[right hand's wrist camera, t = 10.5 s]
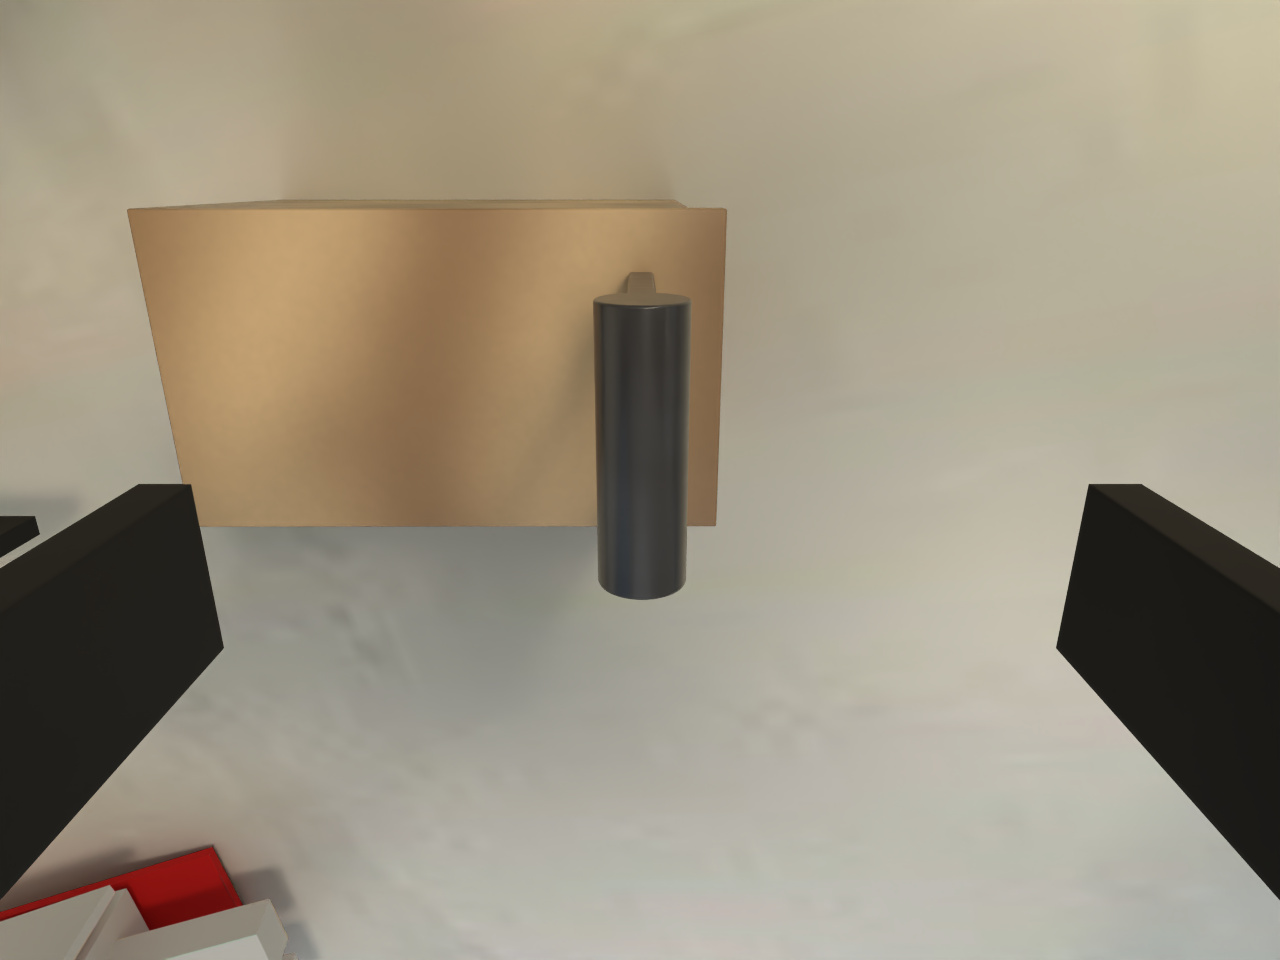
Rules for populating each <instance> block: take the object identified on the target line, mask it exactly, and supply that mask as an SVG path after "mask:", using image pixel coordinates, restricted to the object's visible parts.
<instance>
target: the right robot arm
mask: <svg viewBox="0 0 1280 960" xmlns="http://www.w3.org/2000/svg"><path fill="white" fill-rule="evenodd" d="M223 648H224V646H223V641H222V636H221V631H220V626H219V621H218V616H217V611H216V606H215V601H214V596H213V591H212V586H211V581H210V576H209V571H208V566H207V561H206V556H205V551H204V546H203V541H202V536H201V531H200V526H199V521H198V516H197V511H196V506H195V501H194V496H193V491H192V486H191V484H138V485H137V486H135V487H133V488H132V489H130V490H128V491H127V492H125V493H123V494H122V495H120V496H118V497H117V498H115V499H114V500H112V501H110V502H109V503H107V504H105V505H104V506H102V507H100V508H99V509H97V510H95V511H94V512H92V513H91V514H89V515H87V516H86V517H84V518H82V519H81V520H79V521H77V522H76V523H74V524H72V525H71V526H69V527H67V528H66V529H64V530H63V531H61V532H59V533H58V534H56V535H54V536H53V537H51V538H49V539H48V540H46V541H44V542H43V543H41V544H40V545H38V546H36V547H35V548H33V549H31V550H30V551H28V552H26V553H25V554H23V555H21V556H20V557H18V558H17V559H15V560H13V561H12V562H10V563H8V564H7V565H5V566H3V567H2V568H0V900H1V899H2V897H3V896H4V895H5V894H6V893H7V892H8V891H9V890H10V888H11V887H12V886H13V885H14V884H15V883H16V882H17V881H18V879H19V878H20V877H21V876H22V875H23V874H24V873H25V872H26V870H27V869H28V868H29V867H30V866H31V865H32V864H33V863H34V861H35V860H36V859H37V858H38V857H39V856H40V855H41V854H42V852H43V851H44V850H45V849H46V848H47V847H48V846H49V845H50V843H51V842H52V841H53V840H54V839H55V838H56V837H57V836H58V834H59V833H60V832H61V831H62V830H63V829H64V828H65V826H66V825H67V824H68V823H69V822H70V821H71V820H72V819H73V817H74V816H75V815H76V814H77V813H78V812H79V811H80V810H81V808H82V807H83V806H84V805H85V804H86V803H87V802H88V801H89V799H90V798H91V797H92V796H93V795H94V794H95V793H96V792H97V790H98V789H99V788H100V787H101V786H102V785H103V784H104V783H105V781H106V780H107V779H108V778H109V777H110V776H111V775H112V774H113V772H114V771H115V770H116V769H117V768H118V767H119V766H120V765H121V763H122V762H123V761H124V760H125V759H126V758H127V757H128V756H129V754H130V753H131V752H132V751H133V750H134V749H135V748H136V747H137V745H138V744H139V743H140V742H141V741H142V740H143V739H144V737H145V736H146V735H147V734H148V733H149V732H150V731H151V730H152V728H153V727H154V726H155V725H156V724H157V723H158V722H159V721H160V719H161V718H162V717H163V716H164V715H165V714H166V713H167V712H168V710H169V709H170V708H171V707H172V706H173V705H174V704H175V703H176V701H177V700H178V699H179V698H180V697H181V696H182V695H183V694H184V692H185V691H186V690H187V689H188V688H189V687H190V686H191V685H192V683H193V682H194V681H195V680H196V679H197V678H198V677H199V676H200V674H201V673H202V672H203V671H204V670H205V669H206V668H207V667H208V665H209V664H210V663H211V662H212V661H213V660H214V659H215V657H216V656H217V655H218V654H219V653H220V652H221V651H222V650H223ZM1056 648H1057V650H1058V651H1059V652H1060V653H1061V654H1062V655H1063V656H1064V657H1065V659H1066V660H1067V661H1068V662H1069V663H1070V664H1071V665H1072V667H1073V668H1074V669H1075V670H1076V671H1077V672H1078V673H1079V674H1080V676H1081V677H1082V678H1083V679H1084V680H1085V681H1086V682H1087V683H1088V685H1089V686H1090V687H1091V688H1092V689H1093V690H1094V691H1095V692H1096V694H1097V695H1098V696H1099V697H1100V698H1101V699H1102V700H1103V701H1104V703H1105V704H1106V705H1107V706H1108V707H1109V708H1110V709H1111V710H1112V712H1113V713H1114V714H1115V715H1116V716H1117V717H1118V718H1119V719H1120V721H1121V722H1122V723H1123V724H1124V725H1125V726H1126V727H1127V728H1128V730H1129V731H1130V732H1131V733H1132V734H1133V735H1134V736H1135V737H1136V739H1137V740H1138V741H1139V742H1140V743H1141V744H1142V745H1143V747H1144V748H1145V749H1146V750H1147V751H1148V752H1149V753H1150V754H1151V756H1152V757H1153V758H1154V759H1155V760H1156V761H1157V762H1158V763H1159V765H1160V766H1161V767H1162V768H1163V769H1164V770H1165V771H1166V772H1167V774H1168V775H1169V776H1170V777H1171V778H1172V779H1173V780H1174V781H1175V783H1176V784H1177V785H1178V786H1179V787H1180V788H1181V789H1182V790H1183V792H1184V793H1185V794H1186V795H1187V796H1188V797H1189V798H1190V799H1191V801H1192V802H1193V803H1194V804H1195V805H1196V806H1197V807H1198V808H1199V810H1200V811H1201V812H1202V813H1203V814H1204V815H1205V816H1206V817H1207V819H1208V820H1209V821H1210V822H1211V823H1212V824H1213V825H1214V826H1215V828H1216V829H1217V830H1218V831H1219V832H1220V833H1221V834H1222V836H1223V837H1224V838H1225V839H1226V840H1227V841H1228V842H1229V843H1230V845H1231V846H1232V847H1233V848H1234V849H1235V850H1236V851H1237V852H1238V854H1239V855H1240V856H1241V857H1242V858H1243V859H1244V860H1245V861H1246V863H1247V864H1248V865H1249V866H1250V867H1251V868H1252V869H1253V870H1254V872H1255V873H1256V874H1257V875H1258V876H1259V877H1260V878H1261V879H1262V881H1263V882H1264V883H1265V884H1266V885H1267V886H1268V887H1269V888H1270V890H1271V891H1272V892H1273V893H1274V894H1275V895H1276V896H1277V897H1278V899H1279V900H1280V568H1278V567H1277V566H1275V565H1273V564H1272V563H1270V562H1268V561H1267V560H1265V559H1263V558H1262V557H1260V556H1259V555H1257V554H1255V553H1254V552H1252V551H1250V550H1249V549H1247V548H1245V547H1244V546H1242V545H1240V544H1239V543H1237V542H1236V541H1234V540H1232V539H1231V538H1229V537H1227V536H1226V535H1224V534H1222V533H1221V532H1219V531H1217V530H1216V529H1214V528H1213V527H1211V526H1209V525H1208V524H1206V523H1204V522H1203V521H1201V520H1199V519H1198V518H1196V517H1194V516H1193V515H1191V514H1189V513H1188V512H1186V511H1185V510H1183V509H1181V508H1180V507H1178V506H1176V505H1175V504H1173V503H1171V502H1170V501H1168V500H1166V499H1165V498H1163V497H1162V496H1160V495H1158V494H1157V493H1155V492H1153V491H1152V490H1150V489H1148V488H1147V487H1145V486H1143V485H1142V484H1089V486H1088V491H1087V496H1086V501H1085V506H1084V511H1083V516H1082V521H1081V526H1080V531H1079V536H1078V541H1077V546H1076V551H1075V556H1074V561H1073V566H1072V571H1071V576H1070V581H1069V586H1068V591H1067V596H1066V601H1065V606H1064V611H1063V616H1062V621H1061V626H1060V631H1059V636H1058V641H1057V646H1056Z"/></svg>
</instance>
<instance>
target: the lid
mask: <svg viewBox="0 0 1280 960" xmlns="http://www.w3.org/2000/svg"><path fill="white" fill-rule="evenodd" d="M127 213H128V217H129V222H130V227H131V232H132V237H133V242H134V247H135V252H136V257H137V262H138V266H139V271H140V276H141V281H142V286H143V291H144V296H145V301H146V306H147V311H148V316H149V320H150V325H151V330H152V335H153V340H154V345H155V350H156V355H157V360H158V365H159V370H160V374H161V379H162V384H163V389H164V394H165V399H166V404H167V409H168V414H169V419H170V423H171V428H172V433H173V438H174V443H175V448H176V453H177V458H178V463H179V468H180V473H181V477H182V482H183V484H191V486H192V491H193V496H194V501H195V506H196V511H197V516H198V521H199V526H200V527H273V526H597V536H598V580H599V583H600V585H601V586H602V588H603V589H604V590H606V591H607V592H609V593H611V594H613V595H616V596H619V597H623V598H628V599H636V600H648V599H657V598H662V597H666V596H669V595H671V594H673V593H675V592H677V591H678V590H680V589H681V588H682V587H683V585H684V583H685V581H686V547H687V526H716V512H717V483H718V454H719V425H720V396H721V367H722V338H723V309H724V280H725V251H726V222H727V210H726V209H724V208H134V209H128V210H127Z"/></svg>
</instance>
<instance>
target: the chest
mask: <svg viewBox="0 0 1280 960" xmlns="http://www.w3.org/2000/svg"><path fill="white" fill-rule="evenodd" d="M152 208H687V207H686V206H684V205H682V204H681V203H679V202H677V201H675V200H272V201H255V202H238V203H221V204H204V205H186V206H169V207H152Z"/></svg>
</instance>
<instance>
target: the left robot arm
mask: <svg viewBox="0 0 1280 960" xmlns="http://www.w3.org/2000/svg"><path fill="white" fill-rule="evenodd" d="M39 534H40V533H39V530H38V526H37V522H36V519H35V516H0V557H2V556H4V555H6V554H7V553H9V552H11V551H12V550H14V549H16V548H17V547H19V546H21V545H22V544H24V543H26V542H28V541H29V540H31V539H33V538H34V537H36V536H38V535H39Z"/></svg>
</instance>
